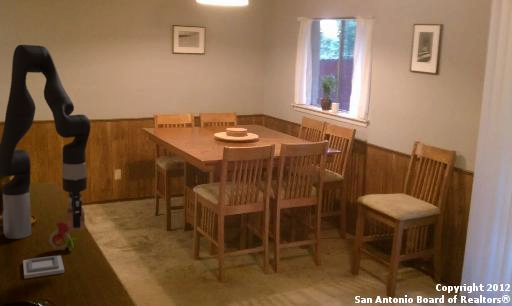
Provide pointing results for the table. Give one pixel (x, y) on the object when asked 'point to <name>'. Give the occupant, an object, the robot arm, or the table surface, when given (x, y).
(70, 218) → the terracotta block
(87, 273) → the table surface
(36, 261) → the socket plate
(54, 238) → the bird rattle
